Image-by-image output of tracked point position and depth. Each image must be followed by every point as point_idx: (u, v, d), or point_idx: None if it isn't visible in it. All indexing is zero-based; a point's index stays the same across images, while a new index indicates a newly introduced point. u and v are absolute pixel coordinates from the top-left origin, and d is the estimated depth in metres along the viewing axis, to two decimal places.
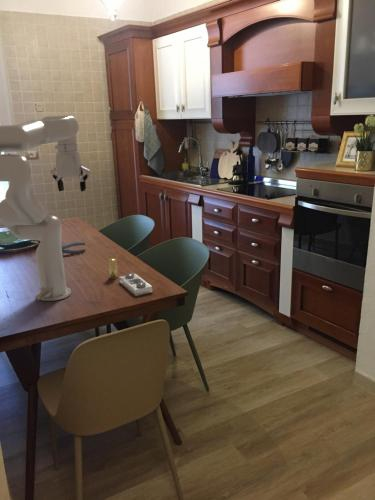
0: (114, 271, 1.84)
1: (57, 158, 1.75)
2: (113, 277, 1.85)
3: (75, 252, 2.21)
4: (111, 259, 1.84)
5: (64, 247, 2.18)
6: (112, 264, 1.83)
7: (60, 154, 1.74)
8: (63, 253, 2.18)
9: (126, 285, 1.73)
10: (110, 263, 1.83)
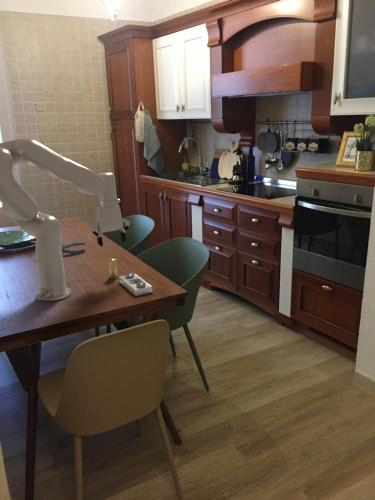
0: (114, 271, 1.84)
1: None
2: (113, 277, 1.85)
3: (75, 252, 2.21)
4: (111, 259, 1.84)
5: (64, 247, 2.18)
6: (112, 264, 1.83)
7: None
8: (63, 253, 2.18)
9: (126, 285, 1.73)
10: (110, 263, 1.83)
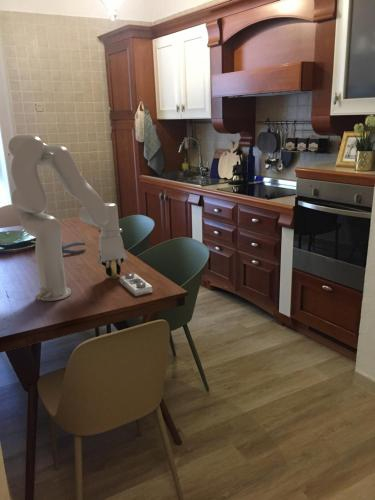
0: (114, 272, 1.84)
1: None
2: (113, 277, 1.85)
3: (75, 252, 2.21)
4: None
5: (64, 247, 2.18)
6: (112, 264, 1.83)
7: None
8: (63, 253, 2.18)
9: (126, 285, 1.73)
10: (110, 263, 1.83)
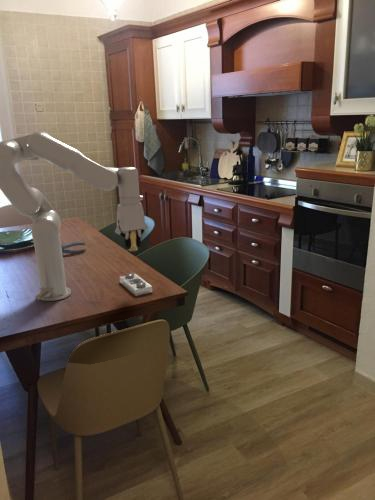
0: (134, 243, 1.68)
1: None
2: (133, 250, 1.68)
3: (75, 252, 2.21)
4: None
5: (64, 247, 2.18)
6: (131, 235, 1.67)
7: None
8: (63, 253, 2.18)
9: (126, 285, 1.73)
10: (129, 234, 1.67)
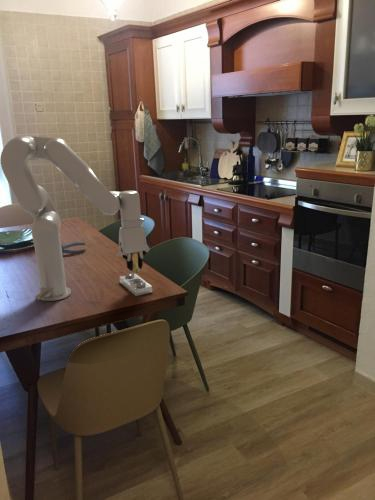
0: (136, 265, 1.70)
1: None
2: (135, 271, 1.71)
3: (75, 252, 2.21)
4: None
5: (64, 247, 2.18)
6: (133, 257, 1.69)
7: None
8: (63, 253, 2.18)
9: (126, 285, 1.73)
10: (131, 256, 1.69)
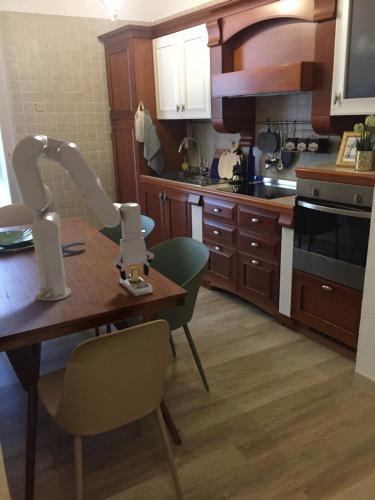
0: (136, 281, 1.72)
1: None
2: None
3: (75, 252, 2.21)
4: (133, 268, 1.72)
5: (64, 247, 2.18)
6: (134, 274, 1.71)
7: None
8: (63, 253, 2.19)
9: (126, 285, 1.73)
10: (132, 272, 1.71)
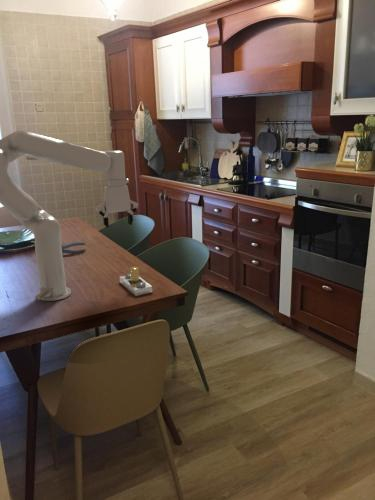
0: (136, 281, 1.72)
1: None
2: None
3: (75, 252, 2.21)
4: (133, 268, 1.72)
5: (64, 247, 2.18)
6: (134, 274, 1.71)
7: None
8: (63, 253, 2.19)
9: (126, 285, 1.73)
10: (132, 272, 1.71)
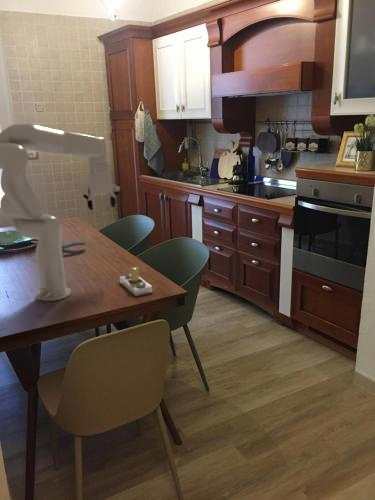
0: (136, 281, 1.72)
1: None
2: None
3: (75, 252, 2.21)
4: (133, 268, 1.72)
5: (64, 247, 2.18)
6: (134, 274, 1.71)
7: None
8: (63, 252, 2.19)
9: (126, 285, 1.73)
10: (132, 272, 1.71)
